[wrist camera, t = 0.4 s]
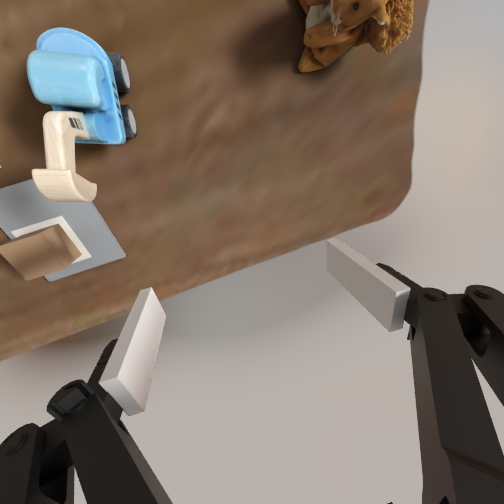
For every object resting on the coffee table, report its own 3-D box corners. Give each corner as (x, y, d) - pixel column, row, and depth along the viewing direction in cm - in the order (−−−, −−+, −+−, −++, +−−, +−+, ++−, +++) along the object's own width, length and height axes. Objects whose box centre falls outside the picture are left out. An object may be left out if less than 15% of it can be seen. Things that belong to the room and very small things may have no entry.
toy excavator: (90, 182, 34) (-2, 208, 19) (53, 45, 27) (-140, -88, 12) (147, 183, 36) (105, 207, 21) (126, 54, 29) (40, -53, 14)
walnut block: (21, 235, 34) (-6, 247, 30) (58, 223, 35) (37, 234, 30) (47, 265, 37) (26, 281, 33) (81, 254, 38) (65, 268, 33)
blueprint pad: (-23, 195, 32) (-29, 197, 31) (70, 167, 33) (66, 168, 32) (52, 279, 39) (48, 282, 39) (126, 255, 40) (124, 257, 39)
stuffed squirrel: (288, -20, 29) (345, -136, 17) (380, -14, 31) (486, -113, 19) (286, 73, 33) (331, 32, 22) (367, 73, 35) (447, 35, 24)
